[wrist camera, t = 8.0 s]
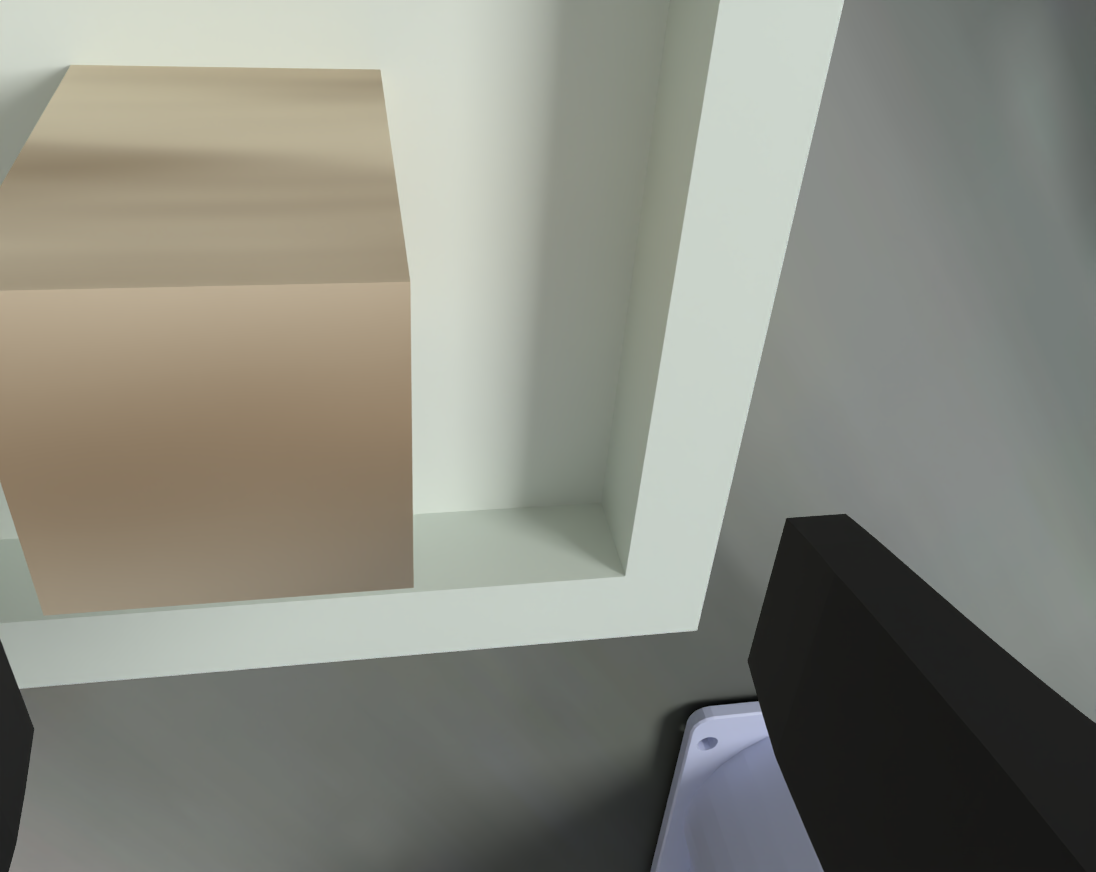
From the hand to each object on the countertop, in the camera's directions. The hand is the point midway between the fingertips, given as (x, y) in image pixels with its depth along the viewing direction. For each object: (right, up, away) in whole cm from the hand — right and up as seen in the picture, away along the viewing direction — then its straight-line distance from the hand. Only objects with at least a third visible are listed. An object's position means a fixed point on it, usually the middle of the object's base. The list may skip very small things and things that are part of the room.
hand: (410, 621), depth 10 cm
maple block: (-3, +5, +5) cm, 8 cm away
